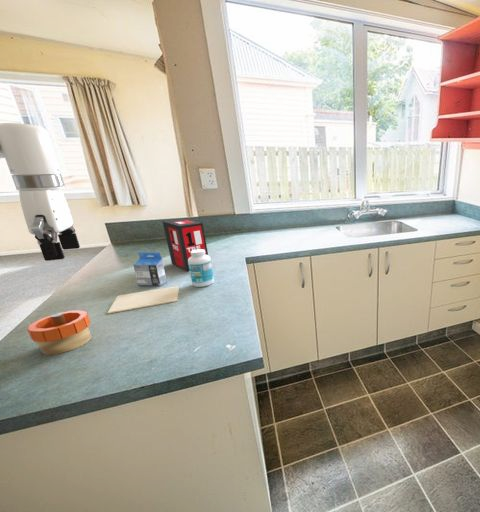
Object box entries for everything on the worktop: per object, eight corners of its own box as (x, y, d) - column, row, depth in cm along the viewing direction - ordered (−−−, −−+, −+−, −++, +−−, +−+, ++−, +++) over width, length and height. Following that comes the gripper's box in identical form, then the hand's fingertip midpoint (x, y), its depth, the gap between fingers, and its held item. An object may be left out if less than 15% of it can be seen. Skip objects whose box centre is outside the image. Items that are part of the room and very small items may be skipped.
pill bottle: (187, 285, 113) (181, 252, 109) (204, 279, 120) (198, 247, 116) (202, 288, 111) (196, 254, 107) (219, 281, 117) (213, 249, 113)
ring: (23, 346, 69) (18, 335, 68) (42, 326, 78) (38, 316, 77) (82, 334, 74) (79, 324, 73) (95, 316, 83) (91, 307, 82)
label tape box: (137, 285, 112) (129, 255, 109) (145, 281, 116) (138, 251, 113) (160, 286, 112) (153, 255, 109) (168, 282, 116) (161, 252, 113)
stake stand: (33, 359, 71) (21, 328, 69) (50, 339, 79) (39, 311, 76) (85, 347, 76) (75, 318, 73) (95, 330, 83) (87, 303, 81)
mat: (107, 314, 92) (107, 312, 92) (118, 296, 103) (117, 295, 103) (176, 301, 101) (176, 300, 101) (179, 286, 112) (179, 285, 112)
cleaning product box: (172, 264, 136) (162, 221, 130) (192, 259, 143) (184, 218, 137) (189, 271, 127) (179, 226, 121) (210, 266, 134) (202, 222, 128)
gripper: (35, 180, 73) (57, 247, 78) (-8, 186, 58) (23, 267, 64) (76, 180, 76) (95, 243, 82) (45, 185, 62) (71, 262, 67)
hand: (63, 253), depth 73 cm, fingers open, 9 cm apart
